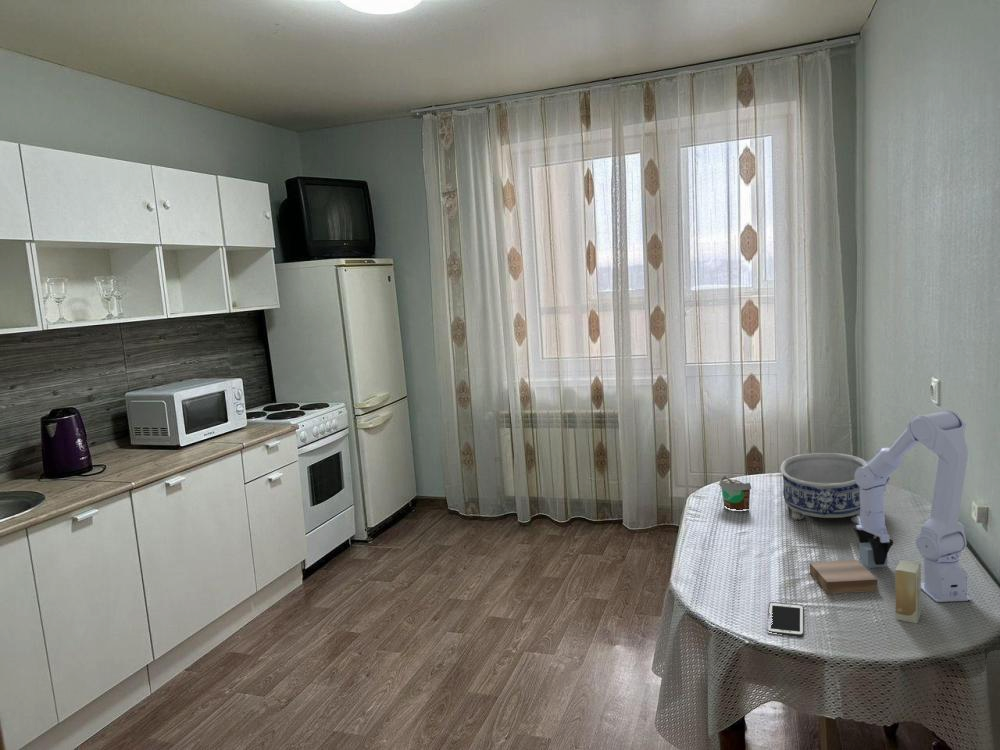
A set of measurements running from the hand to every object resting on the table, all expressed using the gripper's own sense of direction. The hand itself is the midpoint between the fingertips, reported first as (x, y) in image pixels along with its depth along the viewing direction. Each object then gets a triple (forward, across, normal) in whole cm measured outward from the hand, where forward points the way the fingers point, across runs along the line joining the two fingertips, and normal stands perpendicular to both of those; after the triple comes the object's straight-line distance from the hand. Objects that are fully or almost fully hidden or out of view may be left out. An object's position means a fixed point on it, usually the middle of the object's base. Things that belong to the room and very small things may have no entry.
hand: (873, 558), depth 187 cm
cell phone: (+2, +28, -32) cm, 43 cm away
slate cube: (+2, 0, 0) cm, 2 cm away
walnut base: (+1, +10, -12) cm, 16 cm away
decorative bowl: (+2, -44, +4) cm, 44 cm away
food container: (+2, -49, -25) cm, 55 cm away
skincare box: (+2, +29, -5) cm, 29 cm away
